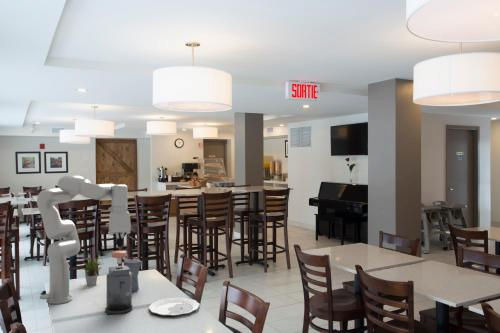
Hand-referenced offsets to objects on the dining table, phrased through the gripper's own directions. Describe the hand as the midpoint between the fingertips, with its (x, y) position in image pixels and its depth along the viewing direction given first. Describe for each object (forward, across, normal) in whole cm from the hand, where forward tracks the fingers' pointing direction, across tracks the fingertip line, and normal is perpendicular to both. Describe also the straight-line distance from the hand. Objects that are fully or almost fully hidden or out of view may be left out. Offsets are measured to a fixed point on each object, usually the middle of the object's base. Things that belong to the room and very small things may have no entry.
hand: (119, 246), depth 208 cm
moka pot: (+32, +12, +29) cm, 45 cm away
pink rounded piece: (+9, 0, 0) cm, 9 cm away
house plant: (+32, -6, +49) cm, 59 cm away
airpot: (+32, 0, 0) cm, 32 cm away
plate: (+33, +25, -11) cm, 43 cm away
